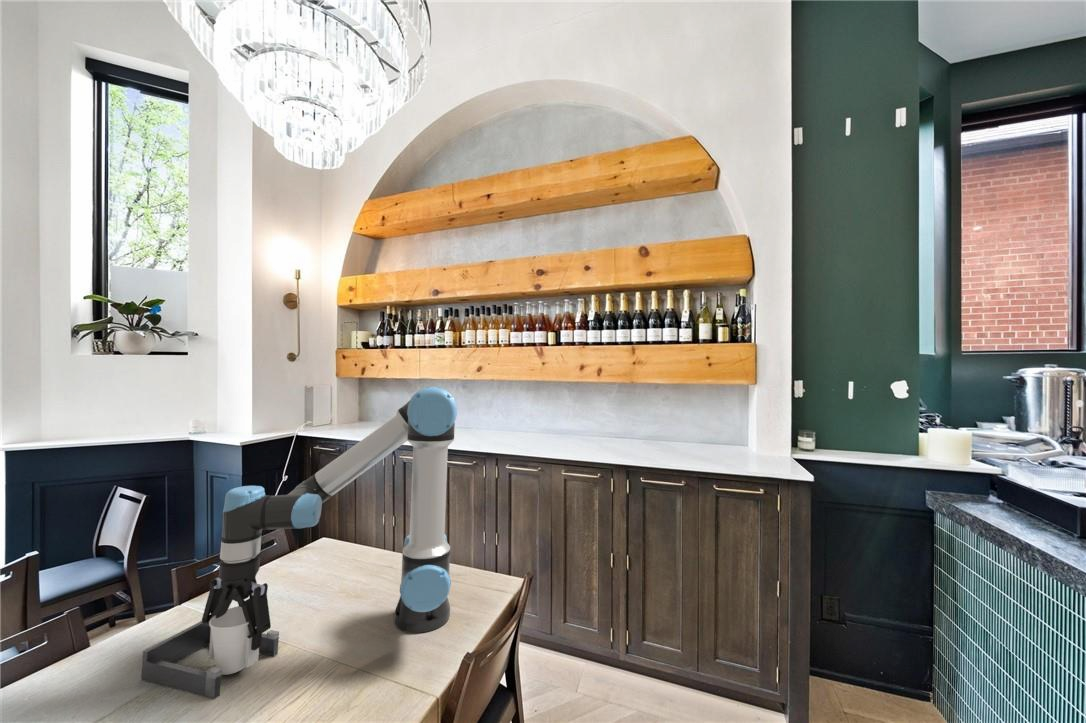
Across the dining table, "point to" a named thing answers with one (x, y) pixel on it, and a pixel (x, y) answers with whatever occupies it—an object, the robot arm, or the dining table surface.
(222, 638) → the cup
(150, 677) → the grey u-shaped bracket
